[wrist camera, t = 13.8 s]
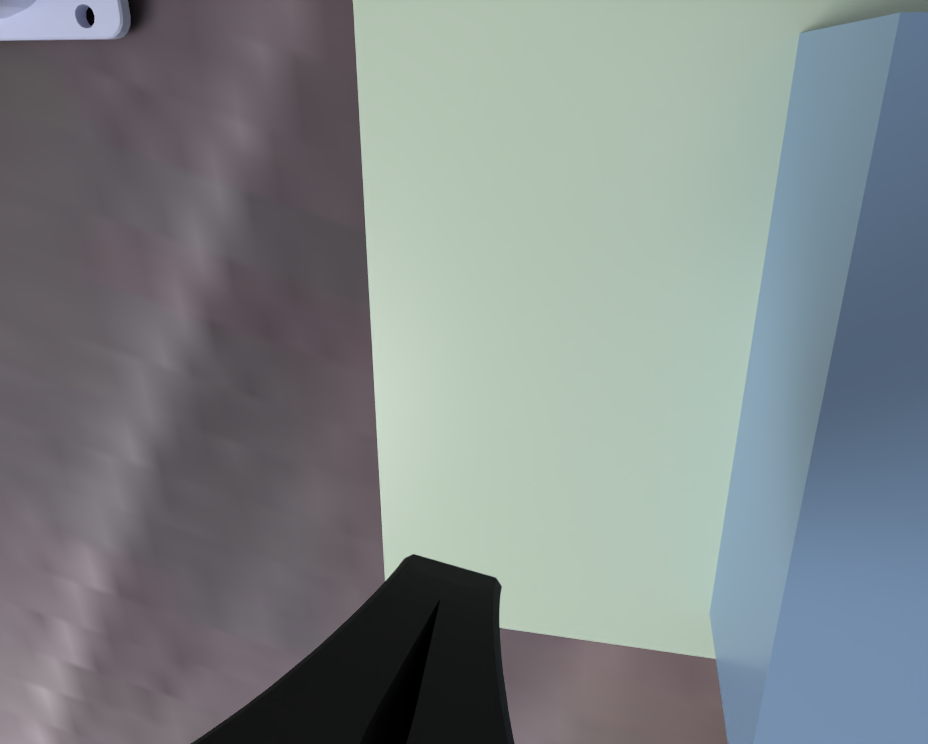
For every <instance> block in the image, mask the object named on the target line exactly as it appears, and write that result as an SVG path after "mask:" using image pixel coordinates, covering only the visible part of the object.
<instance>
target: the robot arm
mask: <svg viewBox="0 0 928 744" xmlns="http://www.w3.org/2000/svg"><path fill="white" fill-rule="evenodd" d="M89 7H90V8H91V9H92V11H93V13H94V16H95V20H94V24H93V25H92V27H91V26H90V25H89V24H88V21H87V18H86V11H87V9H88V8H89ZM130 25H131V16H130V10H129V4H128V0H0V41H17V40H91V39H119V38H122V37H124V36H125V35H126V34H127V33H128V30H129V28H130ZM501 589H502V586H501V584H500V583H499V581H498V580H497V578H496V577H492V576H489V575H485V574H482V573H478V572H475V571H471V570H468V569H464V568H461V567H457V566H454V565H450V564H447V563H443V562H440V561H436V560H433V559H429V558H426V557H422V556H419V555H415V554H412V555H410V556H408V557H406V558H404V560H403V561H402V562H401V563H400V565H399V566H398V567H397V568H396V570H395V571H394V572H393V573H392V574H391V575H390V577H389V578H388V579H387V580H386V581H385V582H384V583H383V584H382V585H381V587H380V588H379V589H378V590H377V591H376V592H375V593H374V594H373V595H372V596H371V597H370V598H369V599H368V600H367V601H366V602H365V603H364V604H363V605H362V606H361V607H360V608H359V609H358V610H357V611H356V612H355V613H354V614H353V615H352V616H351V617H350V618H349V619H348V620H347V621H346V622H345V623H343V624H342V625H341V626H340V627H339V628H338V629H337V630H336V631H335V632H334V633H333V634H332V635H331V636H330V637H328V638H327V639H326V640H325V641H324V642H323V643H322V644H321V645H320V646H319V647H317V648H316V649H315V650H314V651H313V652H312V653H311V654H309V655H308V656H307V657H306V658H304V659H303V660H302V661H301V662H300V663H298V664H297V665H296V666H295V667H294V668H292V669H291V670H290V671H289V672H288V673H286V674H285V675H284V676H283V677H282V678H280V679H279V680H278V681H277V682H275V683H274V684H273V685H272V686H271V687H269V688H268V689H267V690H265V691H264V692H263V693H262V694H260V695H259V696H258V697H256V698H255V699H254V700H252V701H251V702H250V703H248V704H247V705H246V706H244V707H243V708H242V709H240V710H239V711H237V712H236V713H235V714H233V715H232V716H231V717H229V718H228V719H226V720H225V721H223V722H222V723H221V724H219V725H218V726H216V727H215V728H213V729H212V730H211V731H209V732H208V733H206V734H205V735H203V736H202V737H200V738H199V739H197V740H196V741H194V742H193V743H191V744H514V740H513V734H512V729H511V723H510V718H509V712H508V705H507V698H506V691H505V683H504V676H503V668H502V659H501V646H500V628H499V608H500V595H501Z"/></svg>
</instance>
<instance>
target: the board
mask: <svg viewBox="0 0 928 744" xmlns="http://www.w3.org/2000/svg"><path fill="white" fill-rule="evenodd" d="M353 9H354V27H355V45H356V63H357V81H358V99H359V117H360V135H361V153H362V172H363V190H364V208H365V226H366V244H367V262H368V280H369V298H370V316H371V334H372V352H373V371H374V389H375V407H376V425H377V443H378V461H379V479H380V497H381V515H382V533H383V552H384V570H385V581H386V580H387V579H388V578H389V577H390V575H391V574H392V573H393V572H394V571H395V570H396V568H397V567H398V566H399V565H400V563H401V562H402V561H403V560H404V558H406V557H408V556H410V555H412V554H415V555H419V556H422V557H426V558H429V559H433V560H436V561H440V562H443V563H447V564H450V565H454V566H457V567H461V568H464V569H468V570H471V571H475V572H478V573H482V574H485V575H489V576H492V577H496V578H497V580H498V581H499V583H500V584H501V586H502V589H501V595H500V608H499V628H505V629H512V630H519V631H526V632H533V633H540V634H547V635H554V636H561V637H568V638H575V639H582V640H589V641H596V642H603V643H609V644H616V645H623V646H630V647H637V648H644V649H651V650H658V651H665V652H672V653H679V654H686V655H693V656H700V657H707V658H714V659H716V656H715V649H714V642H713V635H712V628H711V621H710V607H711V601H712V594H713V588H714V582H715V575H716V569H717V562H718V556H719V549H720V543H721V536H722V530H723V524H724V517H725V511H726V504H727V498H728V491H729V485H730V479H731V472H732V466H733V459H734V453H735V446H736V440H737V434H738V427H739V421H740V414H741V408H742V401H743V395H744V389H745V382H746V376H747V369H748V363H749V356H750V350H751V344H752V337H753V331H754V324H755V318H756V311H757V305H758V299H759V292H760V286H761V279H762V273H763V266H764V260H765V254H766V247H767V241H768V234H769V228H770V221H771V215H772V209H773V202H774V196H775V189H776V183H777V176H778V170H779V163H780V157H781V151H782V144H783V138H784V131H785V125H786V118H787V112H788V106H789V99H790V93H791V86H792V80H793V73H794V67H795V61H796V54H797V48H798V41H799V35H800V33H803V32H808V31H813V30H818V29H823V28H828V27H833V26H837V25H842V24H847V23H852V22H857V21H862V20H866V19H871V18H876V17H881V16H886V15H891V14H896V13H900V12H928V0H353Z"/></svg>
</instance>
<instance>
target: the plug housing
mask: <svg viewBox="0 0 928 744" xmlns="http://www.w3.org/2000/svg"><path fill="white" fill-rule="evenodd" d="M710 621H711V628H712V635H713V642H714V649H715V656H716V663H717V670H718V677H719V684H720V691H721V698H722V705H723V712H724V719H725V726H726V733H727V740H728V744H928V12H900V13H896V14H891V15H886V16H881V17H876V18H871V19H866V20H862V21H857V22H852V23H847V24H842V25H837V26H833V27H828V28H823V29H818V30H813V31H808V32H803V33H800V35H799V41H798V48H797V54H796V61H795V67H794V73H793V80H792V86H791V93H790V99H789V106H788V112H787V118H786V125H785V131H784V138H783V144H782V151H781V157H780V163H779V170H778V176H777V183H776V189H775V196H774V202H773V209H772V215H771V221H770V228H769V234H768V241H767V247H766V254H765V260H764V266H763V273H762V279H761V286H760V292H759V299H758V305H757V311H756V318H755V324H754V331H753V337H752V344H751V350H750V356H749V363H748V369H747V376H746V382H745V389H744V395H743V401H742V408H741V414H740V421H739V427H738V434H737V440H736V446H735V453H734V459H733V466H732V472H731V479H730V485H729V491H728V498H727V504H726V511H725V517H724V524H723V530H722V536H721V543H720V549H719V556H718V562H717V569H716V575H715V582H714V588H713V594H712V601H711V607H710Z"/></svg>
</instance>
